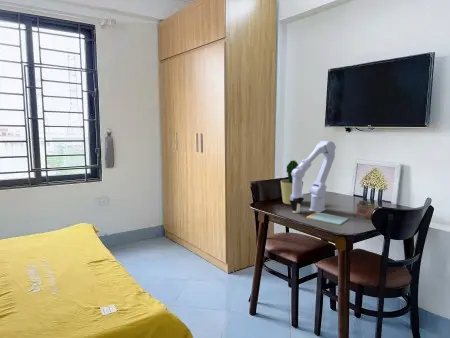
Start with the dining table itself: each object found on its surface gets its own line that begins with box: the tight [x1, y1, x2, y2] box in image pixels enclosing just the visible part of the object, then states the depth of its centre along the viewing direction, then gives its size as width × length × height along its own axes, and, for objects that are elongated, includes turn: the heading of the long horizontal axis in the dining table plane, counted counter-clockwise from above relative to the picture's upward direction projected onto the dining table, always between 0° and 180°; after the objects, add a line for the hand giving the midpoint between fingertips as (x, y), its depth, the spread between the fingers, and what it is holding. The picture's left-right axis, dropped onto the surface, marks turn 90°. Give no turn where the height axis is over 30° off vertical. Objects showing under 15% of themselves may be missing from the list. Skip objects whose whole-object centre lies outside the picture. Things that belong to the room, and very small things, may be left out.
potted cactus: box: [280, 159, 304, 205], centre depth 223 cm, size 15×15×30 cm
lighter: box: [355, 199, 372, 220], centre depth 191 cm, size 8×3×10 cm, turn 48°
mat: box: [305, 212, 349, 226], centre depth 187 cm, size 14×20×1 cm
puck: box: [291, 204, 301, 214], centre depth 201 cm, size 4×4×5 cm
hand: (296, 209), depth 201 cm, fingers closed on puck, 4 cm apart
